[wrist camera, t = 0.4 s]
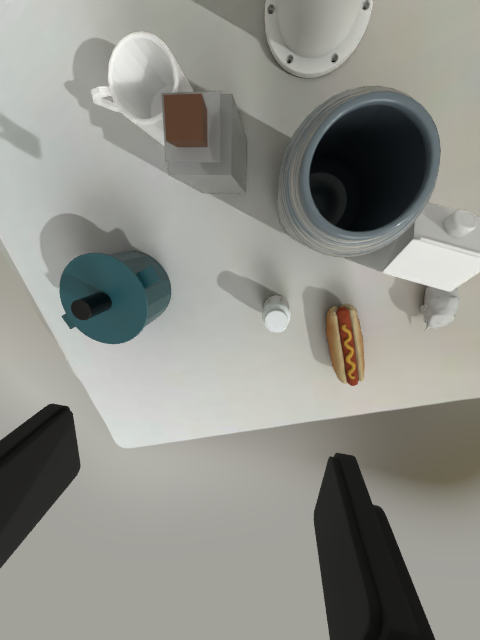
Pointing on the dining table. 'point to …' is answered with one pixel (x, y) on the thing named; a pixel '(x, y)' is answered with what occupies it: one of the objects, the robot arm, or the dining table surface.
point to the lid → (104, 298)
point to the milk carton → (432, 249)
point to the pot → (145, 282)
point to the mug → (141, 81)
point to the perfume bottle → (205, 141)
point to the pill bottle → (276, 313)
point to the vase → (358, 171)
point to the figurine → (439, 307)
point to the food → (345, 343)
